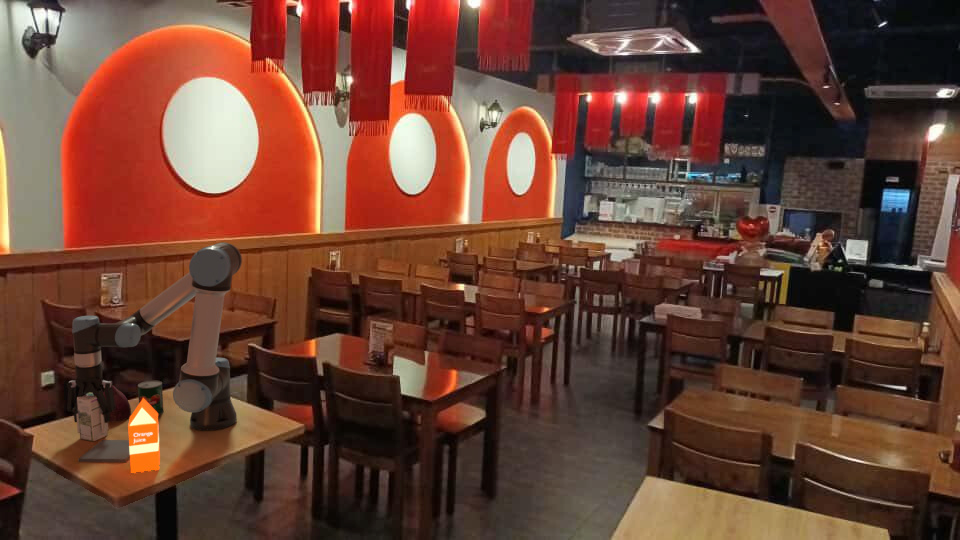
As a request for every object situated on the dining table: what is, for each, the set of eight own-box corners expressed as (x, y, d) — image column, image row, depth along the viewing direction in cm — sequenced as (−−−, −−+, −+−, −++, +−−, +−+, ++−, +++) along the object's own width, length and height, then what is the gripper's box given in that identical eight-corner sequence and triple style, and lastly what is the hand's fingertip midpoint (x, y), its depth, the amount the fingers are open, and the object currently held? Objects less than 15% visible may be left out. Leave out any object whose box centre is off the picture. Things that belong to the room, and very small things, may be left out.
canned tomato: (159, 407, 251) (158, 379, 249) (166, 413, 245) (165, 384, 244) (136, 412, 246) (134, 383, 244) (143, 419, 240) (141, 389, 238)
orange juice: (130, 474, 199) (126, 408, 196) (132, 461, 207) (128, 398, 204) (160, 469, 202) (156, 405, 199) (160, 457, 210) (157, 395, 207)
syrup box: (107, 435, 225) (105, 393, 223) (92, 442, 220) (89, 399, 218) (94, 432, 227) (91, 391, 225) (79, 439, 222) (76, 396, 219)
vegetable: (118, 431, 236) (112, 396, 230) (92, 425, 238) (85, 389, 232) (138, 414, 246) (133, 379, 240) (113, 407, 248) (108, 373, 241)
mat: (146, 443, 220) (146, 440, 220) (125, 462, 206) (125, 459, 206) (102, 442, 220) (102, 439, 220) (78, 461, 206) (78, 458, 206)
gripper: (125, 361, 223) (129, 427, 227) (63, 360, 223) (68, 426, 227) (114, 368, 216) (118, 436, 220) (50, 366, 216) (55, 435, 219)
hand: (93, 431), depth 223 cm, fingers closed on syrup box, 7 cm apart
